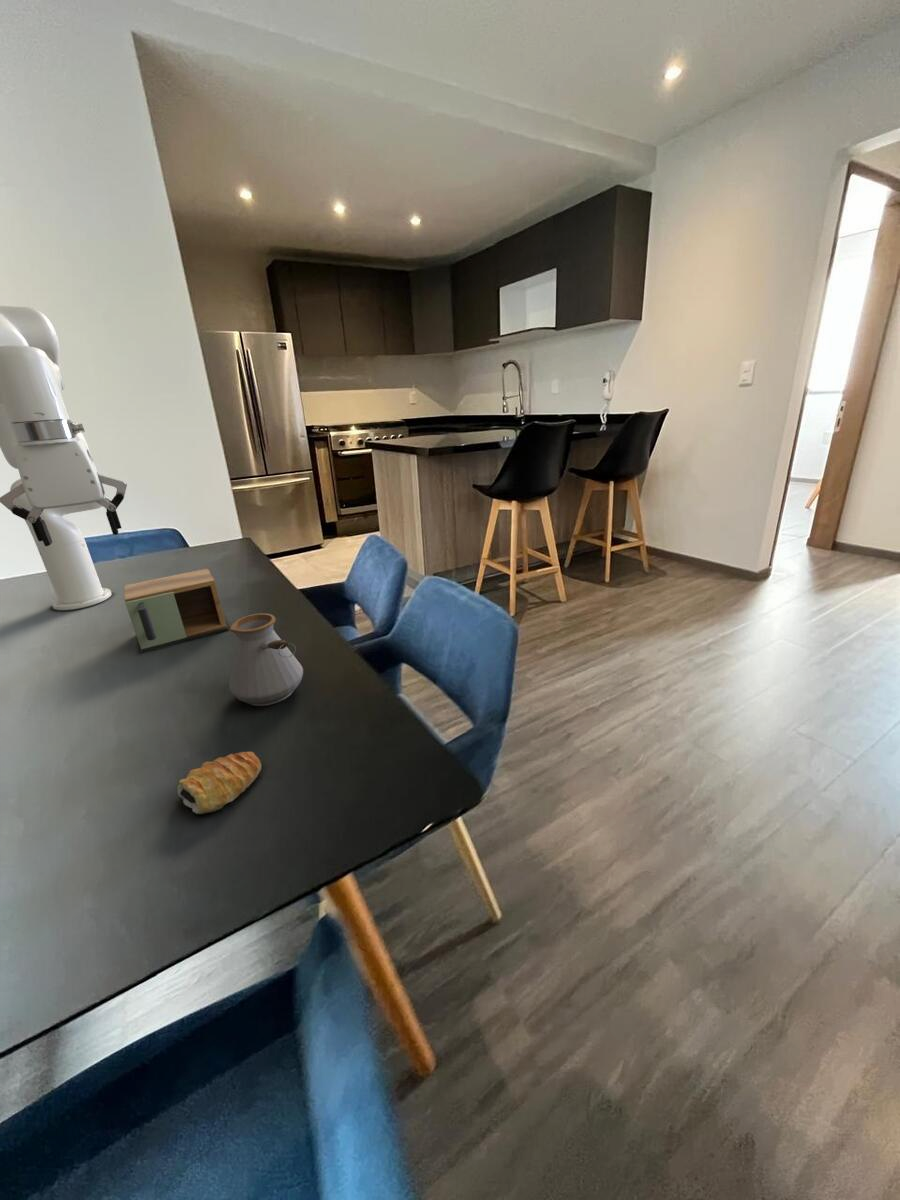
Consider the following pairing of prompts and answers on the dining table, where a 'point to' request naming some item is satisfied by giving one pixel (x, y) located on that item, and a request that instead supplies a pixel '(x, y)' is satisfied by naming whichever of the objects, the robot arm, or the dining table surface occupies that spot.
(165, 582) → the cabinet
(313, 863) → the dining table surface
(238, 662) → the coffee pot
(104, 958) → the dining table surface
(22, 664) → the dining table surface
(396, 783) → the dining table surface
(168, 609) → the sliding door
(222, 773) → the pastry
